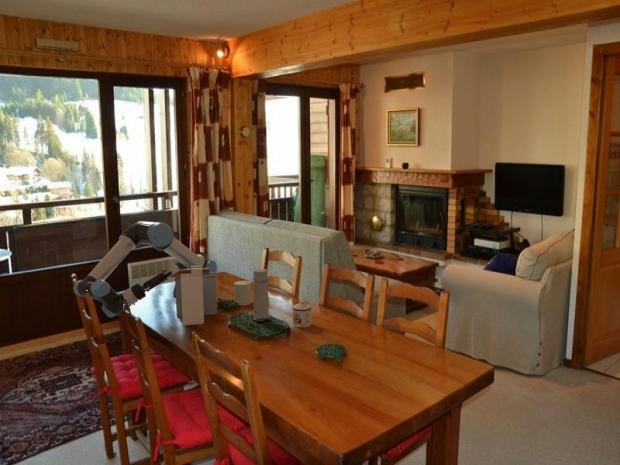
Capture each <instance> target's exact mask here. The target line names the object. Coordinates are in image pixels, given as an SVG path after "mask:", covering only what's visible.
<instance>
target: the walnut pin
mask: <svg viewBox="0 0 620 465" xmlns="http://www.w3.org/2000/svg"><path fill="white" fill-rule="evenodd" d="M167 271H169V270H168V269H162V270H161V273H162V275H163V274H164V273H165V272H167ZM189 273H191V269H179V271H178V272H177V273H175V274H173V275H172V276H170V277H169V278H175V277H181V274H189ZM164 275H165V274H164ZM202 275H209V268H202Z"/></svg>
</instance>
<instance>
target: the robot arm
mask: <svg viewBox="0 0 620 465" xmlns="http://www.w3.org/2000/svg"><path fill="white" fill-rule="evenodd" d="M142 244H143V245H149V246H152V247H153V248H154V249H156V250H157V251H159V252H161V251H164V252H165V253H166V254H168V255H169V256H171V257H172V258H173V259H174V265H173V266H171V267H170V268H168V269H167V270H169V271H167V272H165V273H164V274H165V275H164V274H163V275H162V272H160V273H158V274H157V275H155V276H154V277H152V278H150V279H148V280H146V281H145V282H143V284H142V285H140V284H139V283H135V284H134V285H132V286H131V287H130V288H126V289H125V290H123V291H122V292H121V293H119V294H118V293H117V292H116V291H115V289H113V288H112V287H111V285H110V284H109V283H108V282H106V280H107V278H109V276H110V275H111V274H112V272H114V271H115V269H116V268H117V267H118V266H119V264H121V262H122V261H123V260H124V259H125V258H126V256H127V255H128V254H130V252H131V251H132V250H135V249H136V248H137V247H138V246H139V245H142ZM191 266H202V268H209V272H215V275H216V274H217V271H218V265H217V262H216V261H214V260H212V259H207V258H206V257H205V256H203V255H202V254H196V253H195V252H194V251H193V250H192V249H189V247H188V246H186V245H185V244H183V243H182V242H181V241H179V240H178V239H177V238H176V237H174V232H173V228H172V227H171V226H170V225H169V224H167V223H166V222H161V221H146V220H140V221H137V222H135V223H133V224H131V225H130V226H129V227H128V228H126V229H125V230H124V231H123V232H122V234H120V236H119V237H118V241H117V242H116V243H115V244H114V245H113V246H112V247H111V249H110V250H109V251H108V252H107V253H106V254H105V256H104V257H103V258H102V259H100V261H98V263H97V264H96V265H95V267H94V268H93V269H92V270H91V271H90V272H89V274H88V275H86V277H85V278H84V279H80V280H77V281H75V283H74V284H73V288H72V289H73V292H74V294H75V295H77V296H80V297H81V298H87V297H86V294H85V293H89V295H90V297H91V298H90V299H92V300H98V301H99V302H101V303H102V305H101V309H102V311H103V313H104V314H105V315H106V316H107V317H108V318H113V317H115V316H117V315H119V314H120V313H122V312H124V310H123V300H124V299H126V300H127V302H128V304H129V307H128V308H130V307H131V306H132V305H133V306H135V305H136V303H138V302H139V301H141V300H143V299H144V298H146V297H147V294H146V292H147V293H149V292H150V291H152V289H154V288H156V287H157V286H159V285H161V283H164V282H165V281H168V280H169V278H171V277H170V276H172V275H173V274H175V273H177V272H178V271H179V269H191ZM216 276H217V275H216ZM86 290H88V291H86ZM172 296H173V297H174V298H176V290H175V285H174V287H173V290H172Z"/></svg>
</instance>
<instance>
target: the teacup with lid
mask: <svg viewBox="0 0 620 465" xmlns="http://www.w3.org/2000/svg"><path fill="white" fill-rule="evenodd" d="M312 321H313V315H312V305H310V304H309V303H307V302H305V301H303V300H300V301H299V302H298V303H297V304H294V305H293V306H292V325H293V326H294V327H295V328H300V329H302V328H309V327H311V326H312Z"/></svg>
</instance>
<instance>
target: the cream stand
mask: <svg viewBox="0 0 620 465" xmlns="http://www.w3.org/2000/svg"><path fill="white" fill-rule="evenodd" d="M181 295H182V317H181V318H182V326H190V325H192V326H193V325H203V324H205V315H204V307H203V281H202V266H191V273H189V274H181Z"/></svg>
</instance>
